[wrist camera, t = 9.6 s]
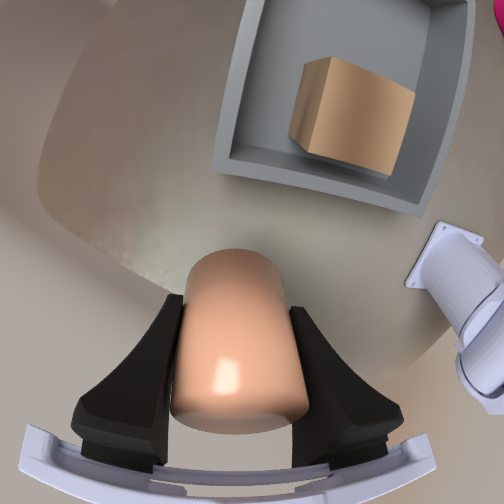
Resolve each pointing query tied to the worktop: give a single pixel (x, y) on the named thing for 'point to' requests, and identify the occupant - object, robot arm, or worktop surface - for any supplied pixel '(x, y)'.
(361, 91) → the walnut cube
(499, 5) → the pepper mill
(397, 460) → the robot arm
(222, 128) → the gray tote
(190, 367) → the terracotta cylinder
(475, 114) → the worktop surface
